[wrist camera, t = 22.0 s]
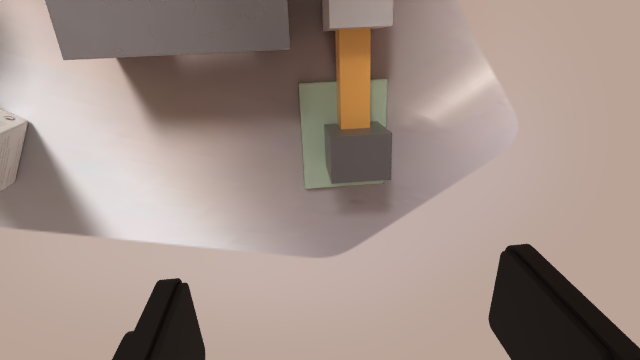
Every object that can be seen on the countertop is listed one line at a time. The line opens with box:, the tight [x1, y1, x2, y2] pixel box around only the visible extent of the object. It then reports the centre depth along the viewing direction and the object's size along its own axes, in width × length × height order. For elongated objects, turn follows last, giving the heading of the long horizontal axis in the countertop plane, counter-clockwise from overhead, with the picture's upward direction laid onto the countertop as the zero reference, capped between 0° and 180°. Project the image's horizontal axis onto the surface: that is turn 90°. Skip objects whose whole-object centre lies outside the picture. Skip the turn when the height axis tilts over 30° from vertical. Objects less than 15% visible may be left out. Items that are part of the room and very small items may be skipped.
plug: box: [322, 0, 393, 184], centre depth 26 cm, size 14×4×5 cm, turn 2°
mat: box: [299, 79, 388, 189], centre depth 31 cm, size 9×7×1 cm
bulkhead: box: [45, 0, 290, 60], centre depth 24 cm, size 4×13×6 cm, turn 92°
